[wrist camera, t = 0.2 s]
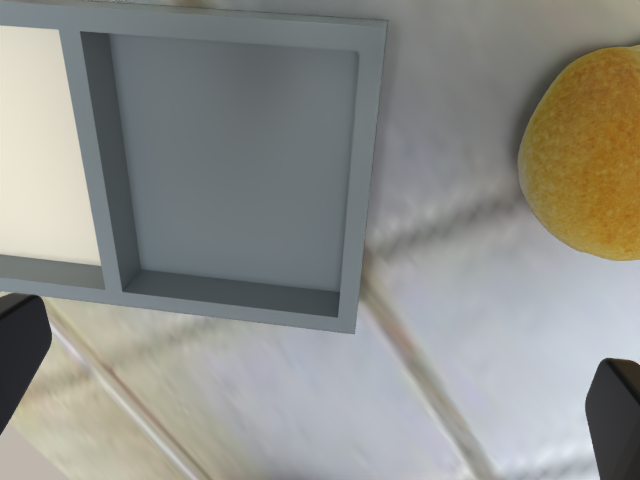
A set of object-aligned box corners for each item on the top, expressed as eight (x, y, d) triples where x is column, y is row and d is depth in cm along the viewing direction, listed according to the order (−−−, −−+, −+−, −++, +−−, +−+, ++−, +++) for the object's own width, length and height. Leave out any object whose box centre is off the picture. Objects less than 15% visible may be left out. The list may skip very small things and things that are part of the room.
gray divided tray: (358, 302, 25) (354, 334, 23) (-63, 253, 27) (-103, 278, 25) (387, 20, 19) (386, 27, 17) (-159, -17, 21) (-223, -14, 19)
